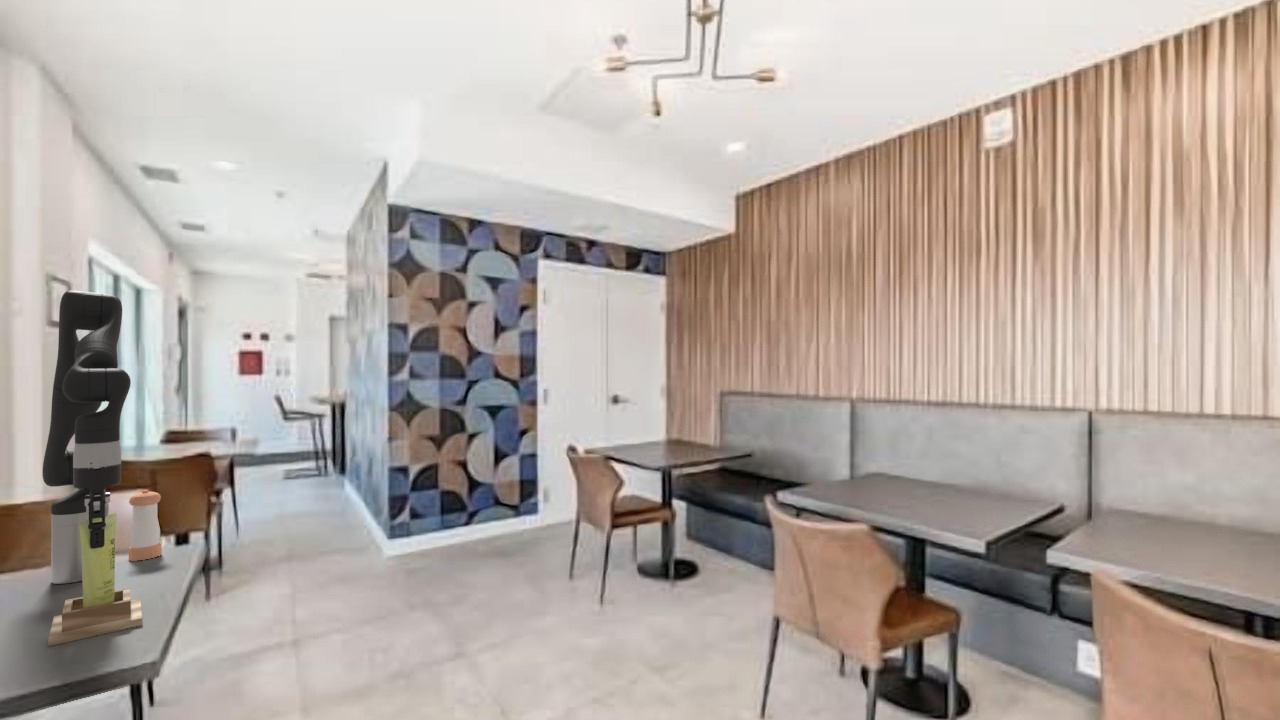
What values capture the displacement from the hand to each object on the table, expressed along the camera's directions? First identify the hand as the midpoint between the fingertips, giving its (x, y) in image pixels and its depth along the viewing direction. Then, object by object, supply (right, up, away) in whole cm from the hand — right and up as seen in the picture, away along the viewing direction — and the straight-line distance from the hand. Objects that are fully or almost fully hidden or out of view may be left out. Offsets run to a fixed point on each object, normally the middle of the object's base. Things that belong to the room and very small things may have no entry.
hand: (97, 544), depth 127 cm
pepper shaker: (-27, -18, +45) cm, 55 cm away
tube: (0, -14, 0) cm, 14 cm away
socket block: (0, -17, 0) cm, 17 cm away
